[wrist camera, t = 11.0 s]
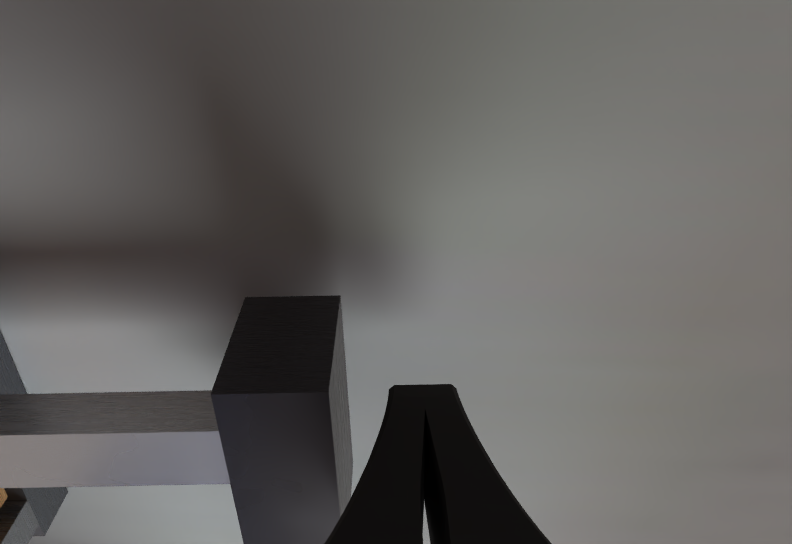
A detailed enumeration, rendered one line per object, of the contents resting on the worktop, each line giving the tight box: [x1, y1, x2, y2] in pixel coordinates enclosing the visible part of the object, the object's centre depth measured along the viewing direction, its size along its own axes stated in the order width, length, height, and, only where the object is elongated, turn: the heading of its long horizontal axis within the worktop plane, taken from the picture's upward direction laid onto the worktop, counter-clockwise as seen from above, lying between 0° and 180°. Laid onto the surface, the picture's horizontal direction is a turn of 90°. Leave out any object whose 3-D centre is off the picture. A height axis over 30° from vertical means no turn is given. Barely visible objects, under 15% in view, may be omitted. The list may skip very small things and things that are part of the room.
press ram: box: [0, 296, 353, 544], centre depth 13 cm, size 7×12×3 cm, turn 91°
